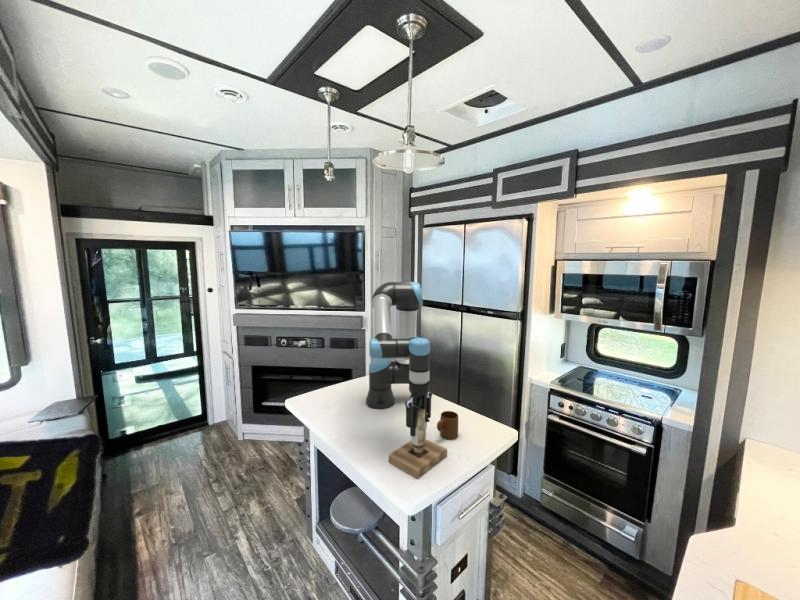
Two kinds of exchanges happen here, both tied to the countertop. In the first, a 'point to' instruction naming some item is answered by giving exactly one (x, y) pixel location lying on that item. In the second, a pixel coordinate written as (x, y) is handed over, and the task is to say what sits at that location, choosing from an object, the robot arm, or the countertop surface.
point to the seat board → (417, 458)
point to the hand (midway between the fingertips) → (418, 440)
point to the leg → (420, 431)
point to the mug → (448, 425)
